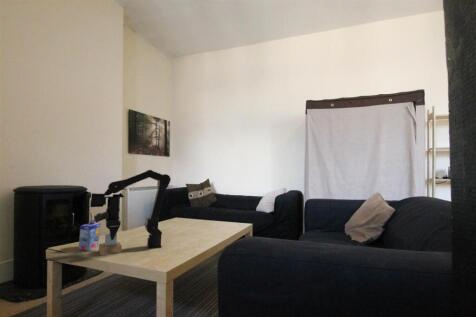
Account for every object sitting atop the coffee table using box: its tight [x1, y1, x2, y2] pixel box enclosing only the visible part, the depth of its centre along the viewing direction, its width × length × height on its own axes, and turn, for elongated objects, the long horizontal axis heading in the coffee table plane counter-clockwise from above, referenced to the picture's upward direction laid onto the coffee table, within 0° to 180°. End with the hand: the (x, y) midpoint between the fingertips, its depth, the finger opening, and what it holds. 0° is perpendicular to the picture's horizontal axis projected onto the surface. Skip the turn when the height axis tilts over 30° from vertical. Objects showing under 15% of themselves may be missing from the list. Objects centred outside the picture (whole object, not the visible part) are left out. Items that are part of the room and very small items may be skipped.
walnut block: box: [98, 241, 122, 257], centre depth 128 cm, size 9×9×4 cm
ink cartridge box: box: [78, 219, 101, 251], centre depth 136 cm, size 10×6×14 cm, turn 178°
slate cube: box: [104, 232, 118, 246], centre depth 129 cm, size 5×5×5 cm
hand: (111, 237), depth 129 cm, fingers open, 9 cm apart
